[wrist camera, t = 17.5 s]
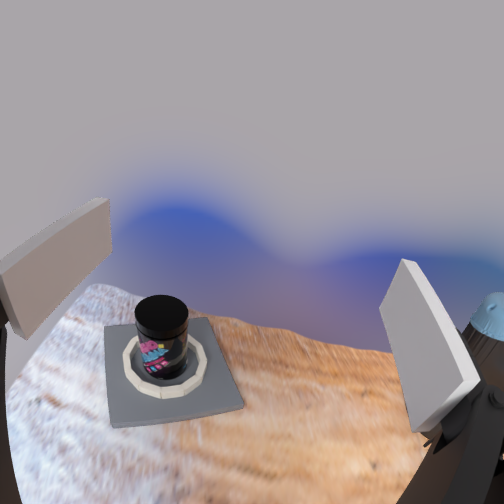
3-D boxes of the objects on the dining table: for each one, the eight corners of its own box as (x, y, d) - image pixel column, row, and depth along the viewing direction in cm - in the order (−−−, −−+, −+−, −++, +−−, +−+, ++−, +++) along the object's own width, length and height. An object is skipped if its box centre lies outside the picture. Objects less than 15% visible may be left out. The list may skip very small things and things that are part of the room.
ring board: (206, 323, 50) (207, 310, 48) (242, 408, 36) (245, 397, 34) (105, 332, 42) (102, 319, 41) (113, 428, 28) (107, 418, 27)
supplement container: (140, 348, 40) (133, 295, 35) (183, 345, 42) (184, 293, 37) (144, 384, 34) (135, 333, 29) (192, 380, 37) (193, 329, 32)
